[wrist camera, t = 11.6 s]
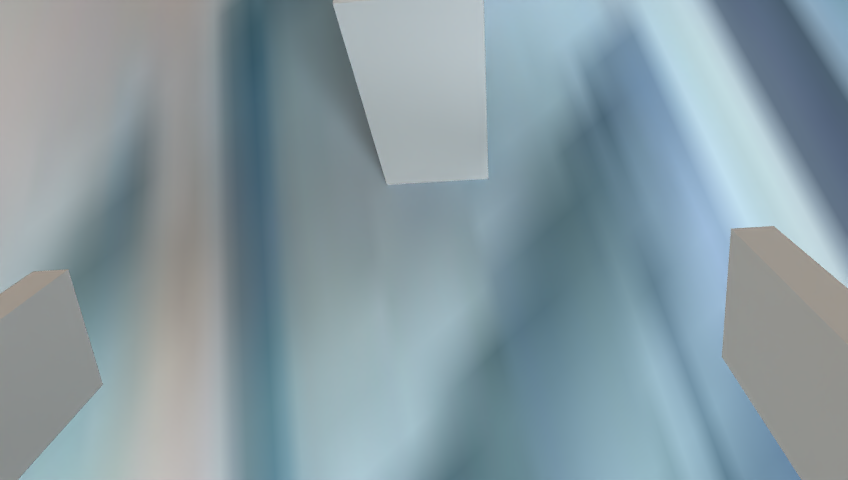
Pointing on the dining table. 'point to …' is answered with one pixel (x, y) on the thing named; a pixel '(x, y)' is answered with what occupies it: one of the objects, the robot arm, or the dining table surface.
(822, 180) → the dining table surface
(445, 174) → the light grey rectangular block
